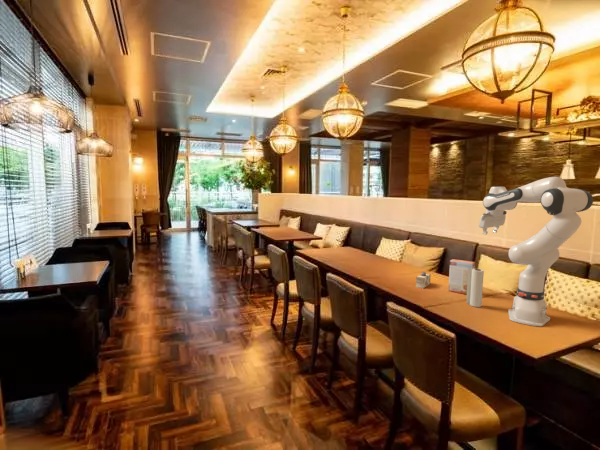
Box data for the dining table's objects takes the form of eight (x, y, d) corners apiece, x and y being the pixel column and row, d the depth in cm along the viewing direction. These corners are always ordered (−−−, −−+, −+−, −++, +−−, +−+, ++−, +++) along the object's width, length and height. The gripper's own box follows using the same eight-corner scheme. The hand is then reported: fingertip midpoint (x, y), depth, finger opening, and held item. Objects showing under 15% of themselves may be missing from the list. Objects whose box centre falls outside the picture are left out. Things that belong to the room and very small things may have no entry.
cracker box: (473, 293, 222) (475, 261, 219) (470, 295, 217) (472, 263, 215) (451, 289, 231) (453, 258, 229) (448, 291, 227) (449, 259, 224)
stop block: (423, 288, 232) (423, 275, 231) (415, 286, 236) (416, 274, 235) (430, 283, 243) (430, 271, 242) (423, 282, 246) (423, 270, 245)
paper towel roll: (483, 307, 197) (486, 270, 194) (474, 307, 196) (476, 271, 193) (475, 303, 204) (477, 267, 201) (466, 303, 203) (468, 268, 200)
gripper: (487, 214, 204) (483, 236, 208) (508, 211, 213) (504, 232, 217) (478, 212, 209) (474, 234, 213) (499, 209, 219) (495, 230, 222)
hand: (489, 233), depth 215 cm, fingers open, 8 cm apart
